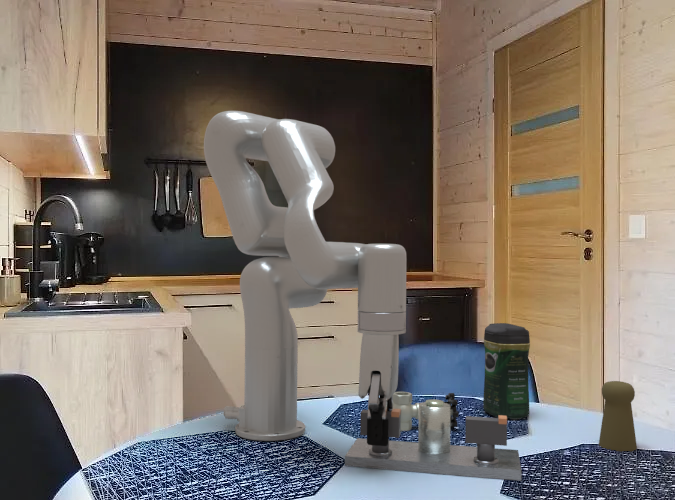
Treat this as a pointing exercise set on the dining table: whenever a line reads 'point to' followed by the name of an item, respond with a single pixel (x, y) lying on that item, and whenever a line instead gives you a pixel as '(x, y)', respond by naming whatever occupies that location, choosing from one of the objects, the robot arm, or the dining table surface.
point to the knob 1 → (393, 428)
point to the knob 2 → (486, 435)
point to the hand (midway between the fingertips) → (380, 438)
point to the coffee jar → (506, 370)
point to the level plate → (435, 460)
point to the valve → (412, 411)
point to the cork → (618, 417)
